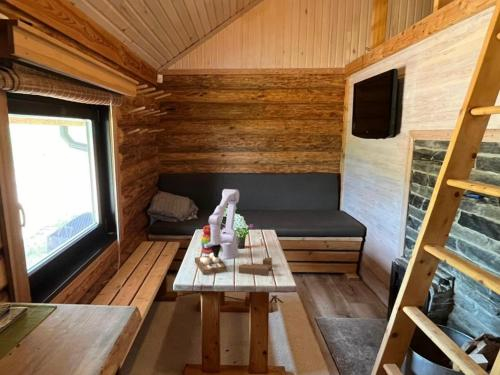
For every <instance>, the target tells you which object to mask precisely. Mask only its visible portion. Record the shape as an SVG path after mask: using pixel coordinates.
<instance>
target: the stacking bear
mask: <svg viewBox="0 0 500 375" xmlns="http://www.w3.org/2000/svg"><path fill="white" fill-rule="evenodd" d="M202 232H203V234H202V235H201V240H200V243H201V244H200V245H201V252H202V253H203V254H206V255H210V253H213V251H212V249H211V247H208V248H205V247H204V244H207V243H209V242H211V227H210V224H208V225H205V226H204V227H203V228H202Z"/></svg>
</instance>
